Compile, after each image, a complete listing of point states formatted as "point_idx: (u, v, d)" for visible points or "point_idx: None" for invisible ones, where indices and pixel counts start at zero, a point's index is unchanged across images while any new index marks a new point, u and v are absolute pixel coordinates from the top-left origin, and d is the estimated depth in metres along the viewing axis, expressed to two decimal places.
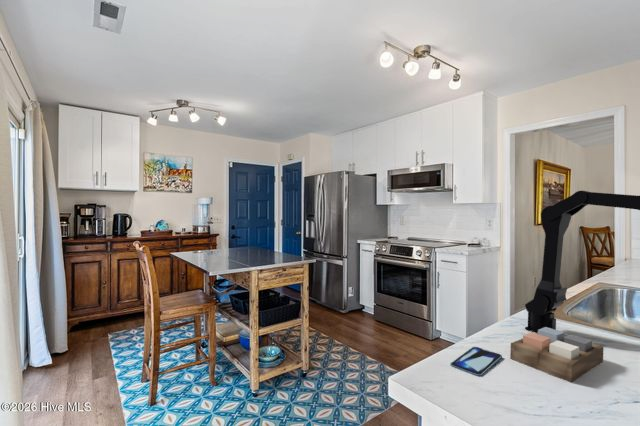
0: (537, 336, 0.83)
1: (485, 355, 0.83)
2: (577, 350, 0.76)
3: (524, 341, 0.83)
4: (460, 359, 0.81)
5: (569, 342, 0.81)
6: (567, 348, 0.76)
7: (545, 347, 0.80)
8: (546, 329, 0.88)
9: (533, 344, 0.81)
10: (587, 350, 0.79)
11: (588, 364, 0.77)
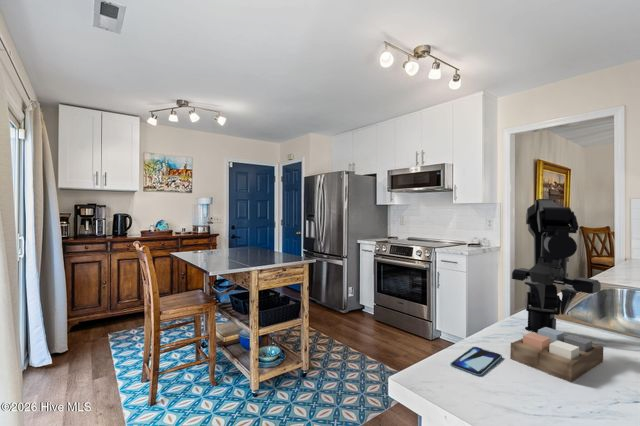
0: (537, 336, 0.83)
1: (485, 355, 0.83)
2: (577, 350, 0.76)
3: (524, 341, 0.83)
4: (460, 359, 0.81)
5: (569, 342, 0.81)
6: (567, 348, 0.76)
7: (545, 347, 0.80)
8: (546, 329, 0.88)
9: (533, 344, 0.81)
10: (587, 350, 0.79)
11: (588, 364, 0.77)
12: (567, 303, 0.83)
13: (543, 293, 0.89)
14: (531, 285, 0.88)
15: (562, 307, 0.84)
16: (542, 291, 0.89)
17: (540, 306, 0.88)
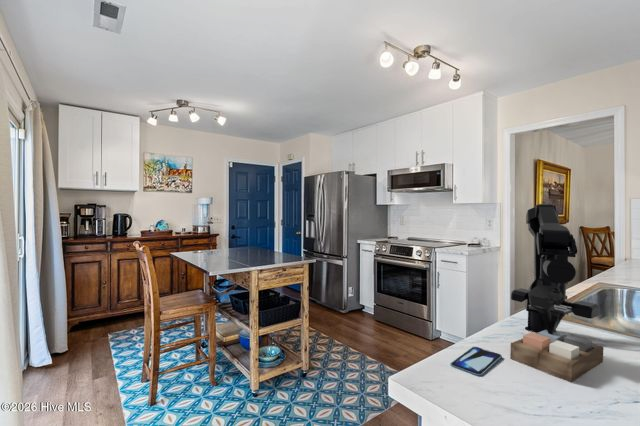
0: (537, 336, 0.83)
1: (485, 355, 0.83)
2: (577, 350, 0.76)
3: (524, 341, 0.83)
4: (460, 359, 0.81)
5: (569, 342, 0.81)
6: (567, 348, 0.76)
7: (545, 347, 0.80)
8: (546, 332, 0.88)
9: (533, 344, 0.81)
10: (587, 350, 0.79)
11: (588, 364, 0.77)
12: (556, 323, 0.85)
13: None
14: (539, 309, 0.87)
15: (551, 327, 0.86)
16: (550, 315, 0.87)
17: (548, 331, 0.87)
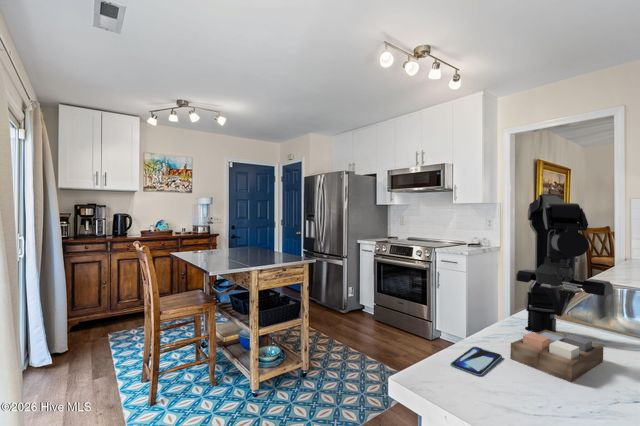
0: (537, 336, 0.83)
1: (485, 355, 0.83)
2: (577, 350, 0.76)
3: (524, 341, 0.83)
4: (461, 359, 0.81)
5: (569, 342, 0.81)
6: (567, 348, 0.76)
7: (545, 347, 0.80)
8: (546, 334, 0.88)
9: (533, 344, 0.81)
10: (587, 350, 0.79)
11: (588, 364, 0.77)
12: (565, 304, 0.79)
13: None
14: (547, 289, 0.81)
15: (560, 308, 0.80)
16: (559, 296, 0.81)
17: (557, 312, 0.80)
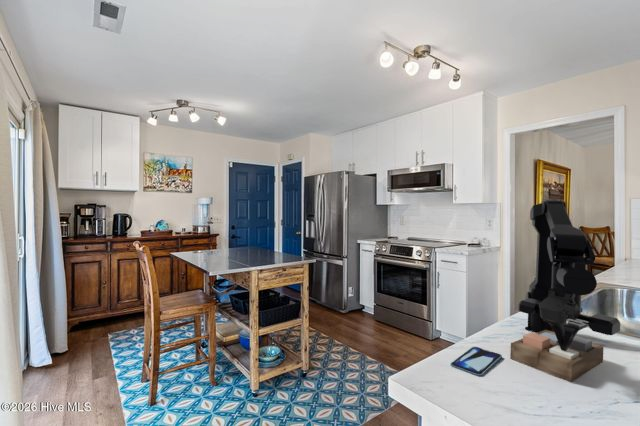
0: (537, 336, 0.83)
1: (485, 355, 0.83)
2: (577, 355, 0.76)
3: (524, 341, 0.83)
4: (460, 359, 0.81)
5: None
6: (567, 353, 0.76)
7: (545, 347, 0.80)
8: (546, 334, 0.88)
9: (533, 344, 0.81)
10: (587, 350, 0.79)
11: (588, 364, 0.77)
12: (570, 339, 0.76)
13: (564, 331, 0.78)
14: (551, 323, 0.77)
15: (564, 343, 0.76)
16: (563, 329, 0.78)
17: (561, 347, 0.77)
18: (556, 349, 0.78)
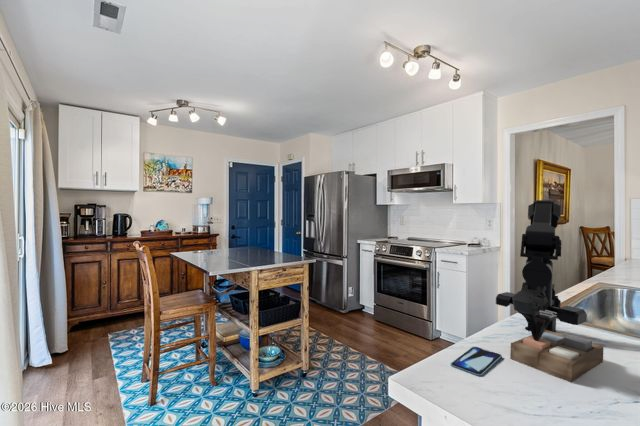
0: None
1: (485, 355, 0.83)
2: (577, 356, 0.76)
3: None
4: (461, 359, 0.81)
5: (569, 342, 0.81)
6: (567, 354, 0.76)
7: None
8: (546, 334, 0.88)
9: None
10: (587, 350, 0.79)
11: (588, 364, 0.77)
12: (542, 329, 0.81)
13: None
14: (524, 314, 0.82)
15: (537, 333, 0.82)
16: (536, 320, 0.83)
17: (534, 337, 0.82)
18: (556, 350, 0.78)
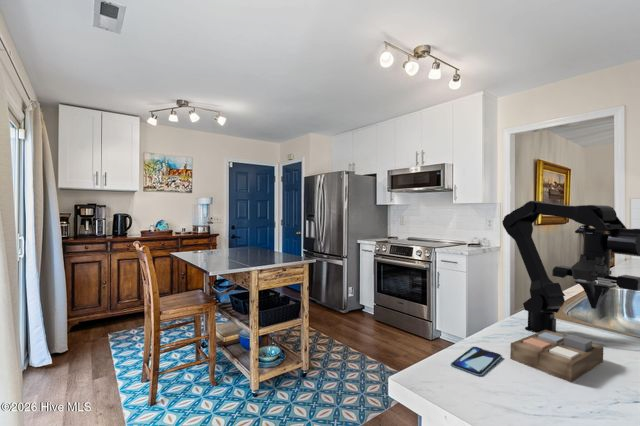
0: (537, 342, 0.83)
1: (485, 355, 0.83)
2: (577, 356, 0.76)
3: None
4: (461, 359, 0.81)
5: (569, 342, 0.81)
6: (567, 354, 0.76)
7: None
8: (546, 334, 0.88)
9: None
10: (587, 350, 0.79)
11: (588, 364, 0.77)
12: (600, 298, 0.87)
13: (595, 292, 0.89)
14: (582, 284, 0.88)
15: (595, 301, 0.87)
16: (594, 290, 0.89)
17: (592, 305, 0.88)
18: (556, 350, 0.78)
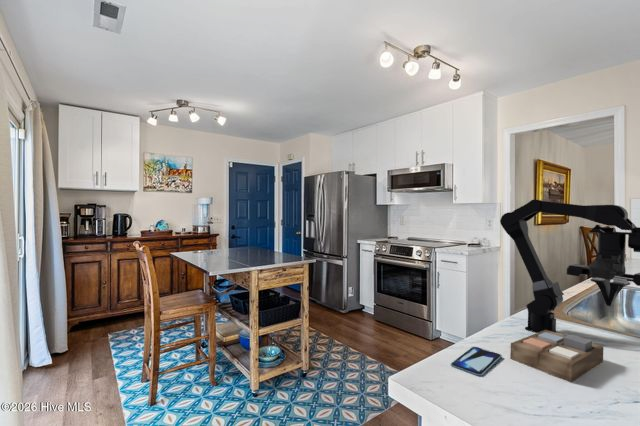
0: (537, 342, 0.83)
1: (485, 355, 0.83)
2: (577, 356, 0.76)
3: None
4: (461, 359, 0.81)
5: (569, 342, 0.81)
6: (567, 354, 0.76)
7: None
8: (546, 334, 0.88)
9: None
10: (587, 350, 0.79)
11: (588, 364, 0.77)
12: (615, 295, 0.89)
13: (609, 290, 0.91)
14: (598, 282, 0.90)
15: (610, 299, 0.89)
16: (608, 288, 0.91)
17: (607, 302, 0.90)
18: (556, 350, 0.78)
